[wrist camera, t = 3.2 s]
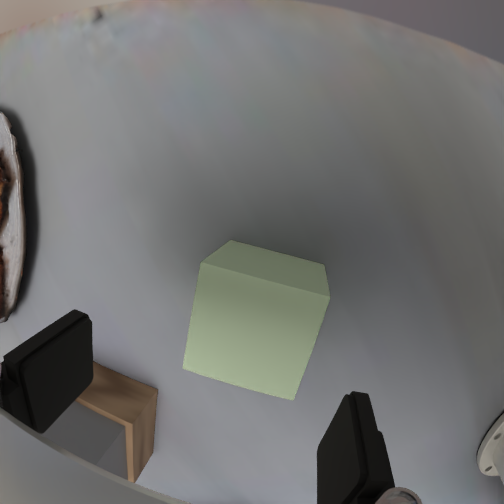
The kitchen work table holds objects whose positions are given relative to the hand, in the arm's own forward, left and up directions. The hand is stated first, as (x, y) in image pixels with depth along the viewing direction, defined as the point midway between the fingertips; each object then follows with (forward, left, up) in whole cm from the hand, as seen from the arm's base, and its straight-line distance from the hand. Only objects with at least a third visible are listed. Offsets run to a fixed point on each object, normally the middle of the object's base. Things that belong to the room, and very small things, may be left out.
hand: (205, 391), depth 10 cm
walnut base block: (+10, +15, -11) cm, 22 cm away
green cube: (-1, 0, -11) cm, 11 cm away
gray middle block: (+10, +15, -6) cm, 20 cm away
